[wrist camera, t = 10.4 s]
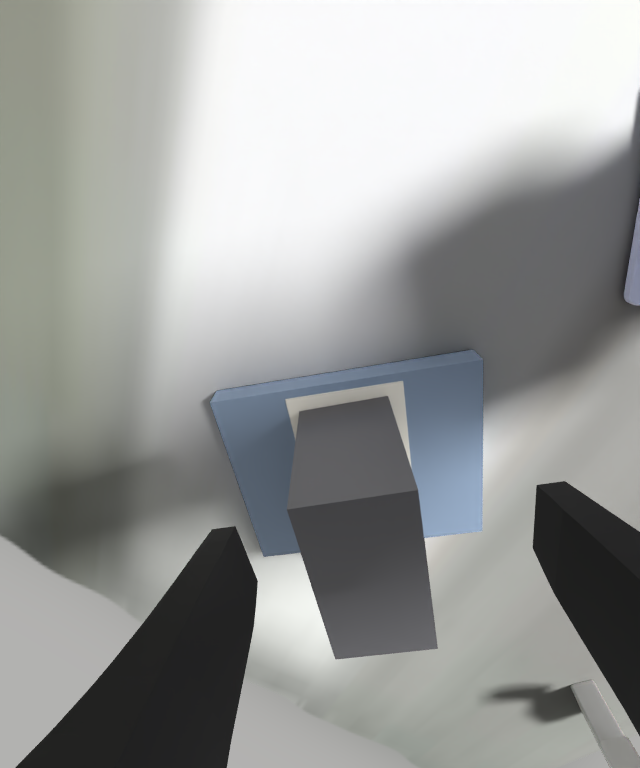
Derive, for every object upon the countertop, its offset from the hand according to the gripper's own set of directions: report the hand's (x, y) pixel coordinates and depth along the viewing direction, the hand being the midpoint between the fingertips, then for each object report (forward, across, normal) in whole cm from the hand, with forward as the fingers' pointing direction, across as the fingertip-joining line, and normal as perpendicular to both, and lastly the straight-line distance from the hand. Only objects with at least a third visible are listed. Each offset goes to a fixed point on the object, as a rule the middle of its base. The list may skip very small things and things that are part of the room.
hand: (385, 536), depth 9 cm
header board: (+9, +1, +5) cm, 10 cm away
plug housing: (+8, +1, +5) cm, 9 cm away
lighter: (+10, -13, +29) cm, 33 cm away
